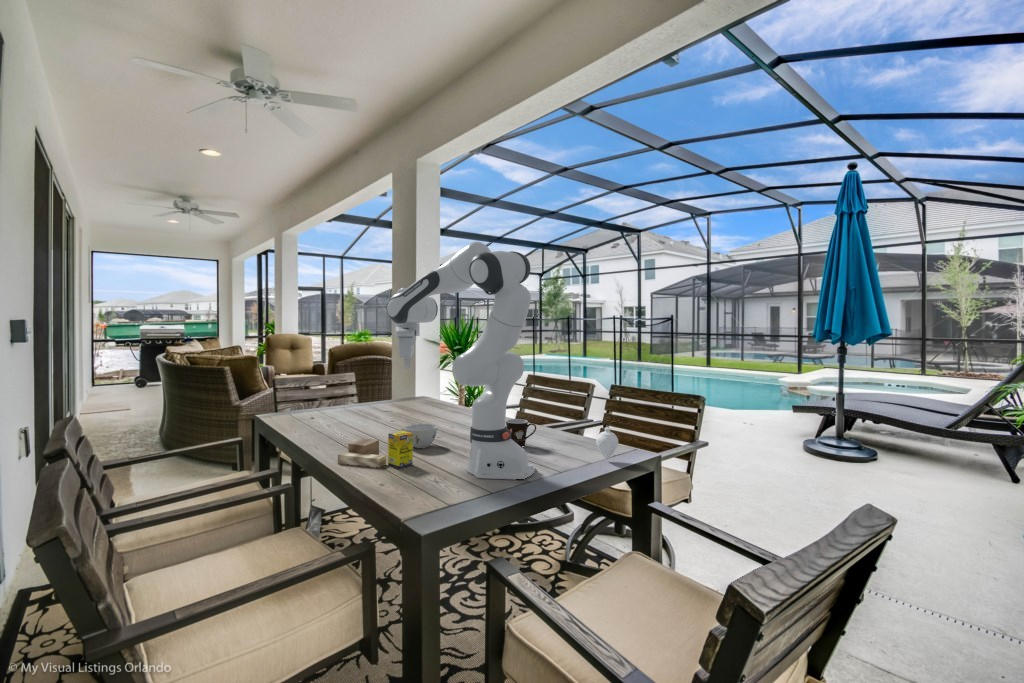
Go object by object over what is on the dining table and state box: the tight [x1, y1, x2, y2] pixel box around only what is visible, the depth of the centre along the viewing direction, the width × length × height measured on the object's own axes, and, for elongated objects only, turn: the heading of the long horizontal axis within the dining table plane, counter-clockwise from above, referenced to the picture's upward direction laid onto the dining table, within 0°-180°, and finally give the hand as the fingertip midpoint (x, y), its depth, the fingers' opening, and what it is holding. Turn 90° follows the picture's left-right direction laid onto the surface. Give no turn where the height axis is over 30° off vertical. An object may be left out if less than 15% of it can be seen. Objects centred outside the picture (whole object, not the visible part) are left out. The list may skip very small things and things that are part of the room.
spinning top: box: [595, 427, 619, 460], centre depth 164 cm, size 8×8×12 cm
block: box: [347, 438, 380, 455], centre depth 165 cm, size 7×8×6 cm
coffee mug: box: [505, 418, 537, 447], centre depth 183 cm, size 12×9×10 cm
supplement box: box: [387, 430, 414, 469], centre depth 158 cm, size 6×6×11 cm
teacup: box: [399, 423, 439, 449], centre depth 182 cm, size 15×12×8 cm
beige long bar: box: [337, 451, 387, 468], centre depth 159 cm, size 16×4×3 cm, turn 75°
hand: (407, 368), depth 174 cm, fingers closed
